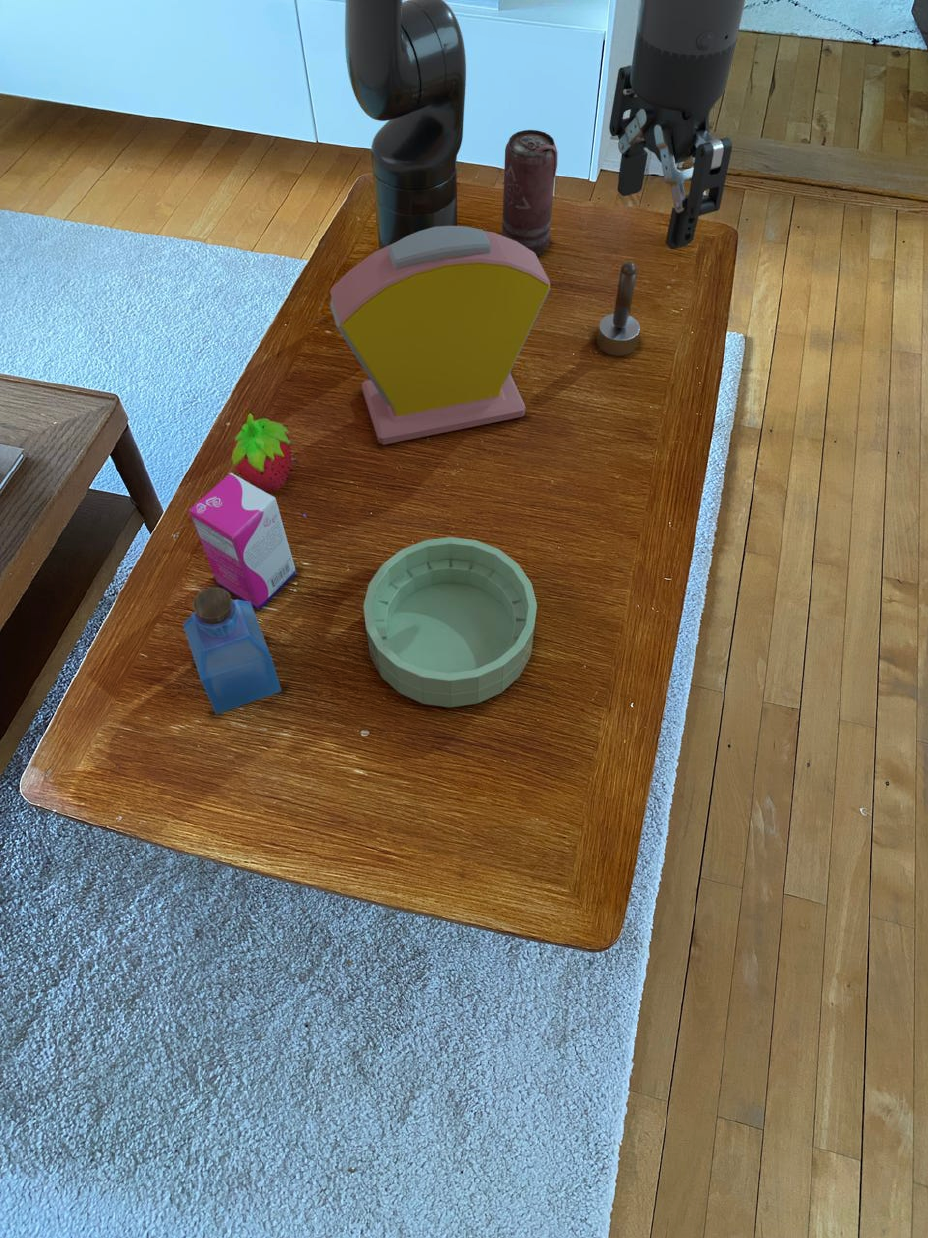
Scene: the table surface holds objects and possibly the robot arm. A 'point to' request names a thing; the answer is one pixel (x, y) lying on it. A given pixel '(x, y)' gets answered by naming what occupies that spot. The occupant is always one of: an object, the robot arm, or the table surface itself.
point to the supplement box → (244, 540)
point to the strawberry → (262, 453)
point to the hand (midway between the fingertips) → (652, 217)
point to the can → (529, 189)
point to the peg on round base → (621, 318)
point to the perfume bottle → (229, 650)
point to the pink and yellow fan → (440, 328)
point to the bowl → (450, 621)
